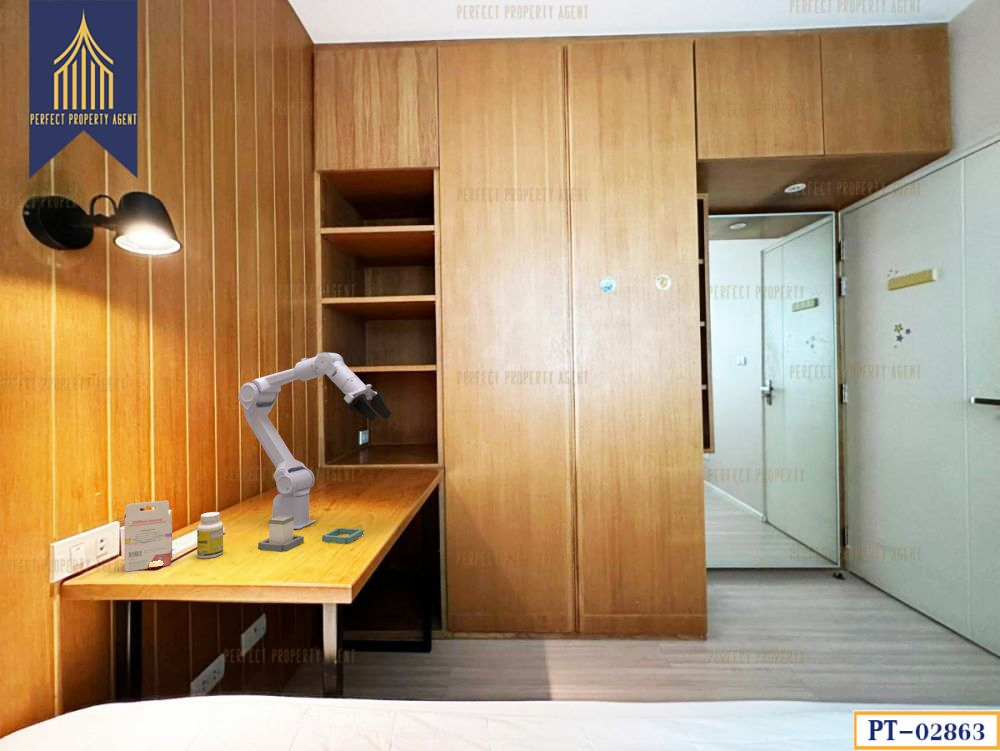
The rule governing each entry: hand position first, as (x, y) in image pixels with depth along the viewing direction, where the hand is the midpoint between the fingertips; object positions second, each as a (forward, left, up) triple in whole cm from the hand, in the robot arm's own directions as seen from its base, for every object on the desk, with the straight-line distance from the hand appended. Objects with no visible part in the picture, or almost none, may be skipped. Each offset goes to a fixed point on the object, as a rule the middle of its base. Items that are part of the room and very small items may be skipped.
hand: (382, 417), depth 140 cm
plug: (-20, -16, -32) cm, 41 cm away
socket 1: (-20, -16, -32) cm, 41 cm away
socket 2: (-8, -7, -32) cm, 33 cm away
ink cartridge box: (-40, -35, -32) cm, 62 cm away
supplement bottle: (-32, -26, -32) cm, 52 cm away
